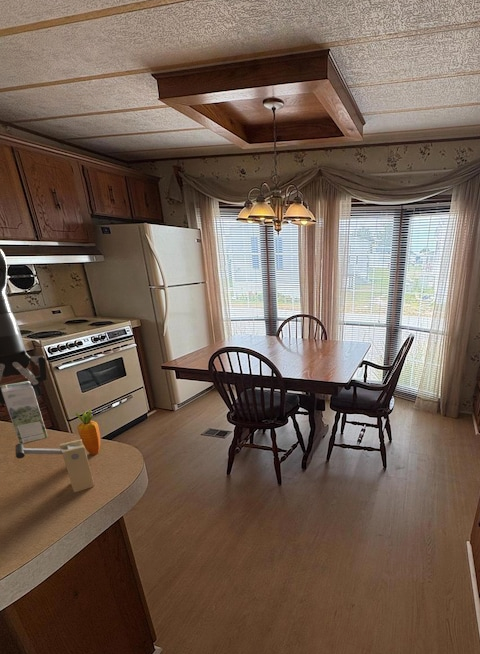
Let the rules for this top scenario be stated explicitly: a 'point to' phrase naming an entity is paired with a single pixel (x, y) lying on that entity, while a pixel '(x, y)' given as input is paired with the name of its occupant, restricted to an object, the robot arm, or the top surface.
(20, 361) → the robot arm
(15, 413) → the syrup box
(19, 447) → the lever
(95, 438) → the carrot
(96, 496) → the top surface
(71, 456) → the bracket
